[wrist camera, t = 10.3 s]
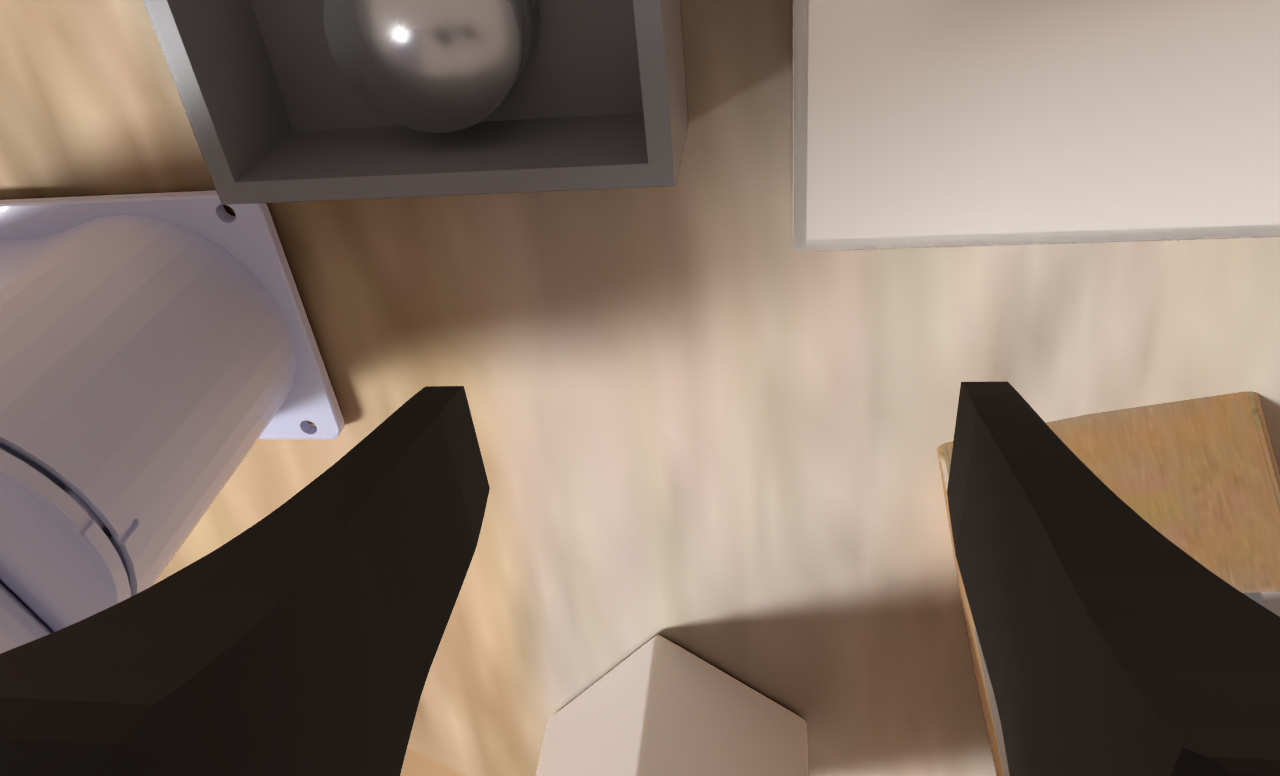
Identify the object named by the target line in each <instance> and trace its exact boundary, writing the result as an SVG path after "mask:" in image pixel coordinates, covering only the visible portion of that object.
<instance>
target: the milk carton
mask: <svg viewBox="0 0 1280 776" xmlns="http://www.w3.org/2000/svg"><path fill="white" fill-rule="evenodd" d="M536 776H809V767H808V734H807V723H806V721H805V720H804V719H802V718H801V717H799V716H798V715H796V714H794V713H793V712H791V711H789V710H788V709H786V708H784V707H782V706H781V705H779V704H777V703H776V702H774V701H772V700H770V699H769V698H767V697H765V696H764V695H762V694H760V693H758V692H757V691H755V690H753V689H751V688H750V687H748V686H746V685H745V684H743V683H741V682H739V681H738V680H736V679H734V678H733V677H731V676H729V675H727V674H726V673H724V672H722V671H721V670H719V669H717V668H715V667H714V666H712V665H710V664H709V663H707V662H705V661H703V660H702V659H700V658H698V657H697V656H695V655H693V654H691V653H690V652H688V651H686V650H685V649H683V648H681V647H679V646H678V645H676V644H674V643H672V642H671V641H669V640H667V639H665V638H663V637H661V636H659V635H657V636H655V637H654V638H652V639H651V640H650V641H648V642H647V643H646V644H644V645H643V646H642V647H641V648H639V649H638V650H637V651H635V652H634V653H633V654H631V655H630V656H629V657H628V658H626V659H625V660H624V661H622V662H621V663H620V664H619V665H617V666H616V667H615V668H613V669H612V670H611V671H610V672H608V673H607V674H606V675H604V676H603V677H602V678H601V679H599V680H598V681H597V682H595V683H594V684H593V685H592V686H590V687H589V688H588V689H586V690H585V691H584V692H583V693H581V694H580V695H579V696H577V697H576V698H575V699H574V700H572V701H571V702H570V703H569V704H567V705H566V706H565V707H563V708H562V709H561V710H560V711H558V712H557V713H556V714H555V715H553V716H552V717H551V718H550V719H549V721H548V724H547V728H546V732H545V737H544V741H543V746H542V750H541V754H540V759H539V763H538V768H537V772H536Z"/></svg>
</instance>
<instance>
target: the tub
mask: <svg viewBox="0 0 1280 776" xmlns="http://www.w3.org/2000/svg"><path fill="white" fill-rule="evenodd" d="M143 3H144V5H145V8H146V11H147V13H148V16H149V18H150V21H151V23H152V26H153V29H154V31H155V34H156V36H157V39H158V42H159V44H160V47H161V49H162V52H163V54H164V57H165V60H166V62H167V65H168V67H169V70H170V73H171V75H172V78H173V80H174V83H175V85H176V88H177V91H178V93H179V96H180V98H181V101H182V104H183V106H184V109H185V111H186V114H187V116H188V119H189V122H190V124H191V127H192V129H193V132H194V134H195V137H196V140H197V142H198V145H199V147H200V150H201V153H202V155H203V158H204V160H205V163H206V165H207V168H208V171H209V173H210V176H211V178H212V181H213V184H214V186H215V189H216V191H217V194H218V196H219V199H220V202H221V204H222V205H229V204H253V203H277V202H301V201H325V200H349V199H373V198H397V197H422V196H446V195H470V194H494V193H518V192H542V191H566V190H590V189H614V188H638V187H662V186H675V184H676V179H677V174H678V170H679V165H680V160H681V156H682V151H683V146H684V142H685V137H686V132H687V128H688V114H687V99H686V84H685V69H684V54H683V39H682V24H681V9H680V0H538V6H539V33H538V39H537V43H536V47H535V50H534V52H533V55H532V58H531V60H530V61H529V63H528V65H527V67H526V68H525V70H524V71H523V73H522V74H521V75H520V77H519V78H518V80H517V81H516V83H515V84H514V85H513V87H512V88H511V90H510V91H509V93H508V94H507V95H506V97H505V98H504V100H503V101H502V102H501V103H500V105H499V106H498V107H497V108H496V109H495V110H494V111H493V112H492V113H491V114H490V115H489V116H488V117H486V118H485V119H483V120H482V121H481V122H479V123H477V124H475V125H473V126H471V127H468V128H465V129H462V130H459V131H453V132H447V133H431V132H422V131H418V130H413V129H410V128H407V127H404V126H401V125H399V124H397V123H395V122H393V121H391V120H389V119H387V118H385V117H384V116H382V115H381V114H379V113H377V112H376V111H375V110H374V109H372V108H371V107H370V106H368V105H367V104H366V103H365V102H364V101H363V100H362V99H361V98H360V97H359V96H358V95H357V94H356V93H355V91H354V90H353V89H352V88H351V87H350V86H349V84H348V83H347V81H346V80H345V78H344V77H343V75H342V74H341V72H340V70H339V68H338V67H337V65H336V63H335V61H334V58H333V56H332V53H331V51H330V48H329V45H328V41H327V37H326V33H325V26H324V13H323V7H324V0H143Z"/></svg>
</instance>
